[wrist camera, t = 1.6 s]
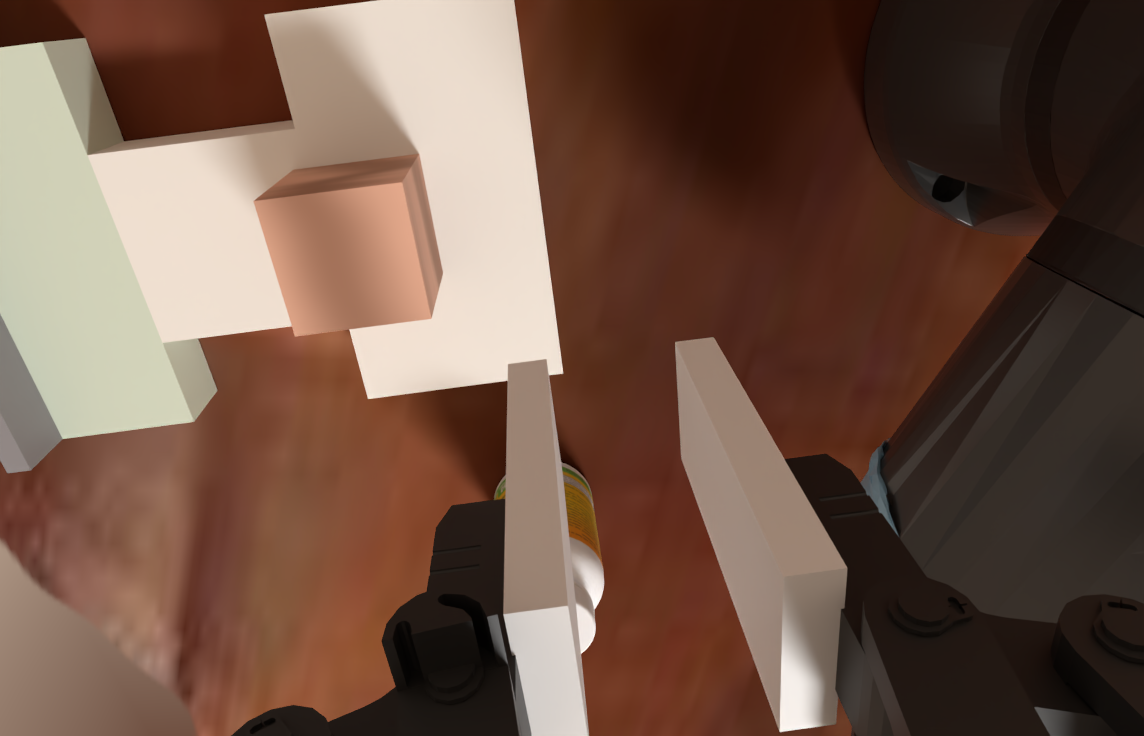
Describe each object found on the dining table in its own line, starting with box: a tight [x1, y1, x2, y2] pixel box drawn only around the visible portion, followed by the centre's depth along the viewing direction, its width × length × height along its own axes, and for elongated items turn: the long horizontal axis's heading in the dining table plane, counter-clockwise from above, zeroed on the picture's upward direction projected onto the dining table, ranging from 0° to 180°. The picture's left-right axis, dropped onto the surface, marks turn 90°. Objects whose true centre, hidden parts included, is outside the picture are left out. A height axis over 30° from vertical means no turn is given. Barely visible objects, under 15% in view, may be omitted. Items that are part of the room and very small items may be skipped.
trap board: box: [0, 0, 563, 473], centre depth 31 cm, size 24×16×6 cm, turn 96°
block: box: [253, 154, 443, 336], centre depth 28 cm, size 5×5×5 cm
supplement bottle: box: [494, 462, 604, 653], centre depth 37 cm, size 5×5×10 cm
